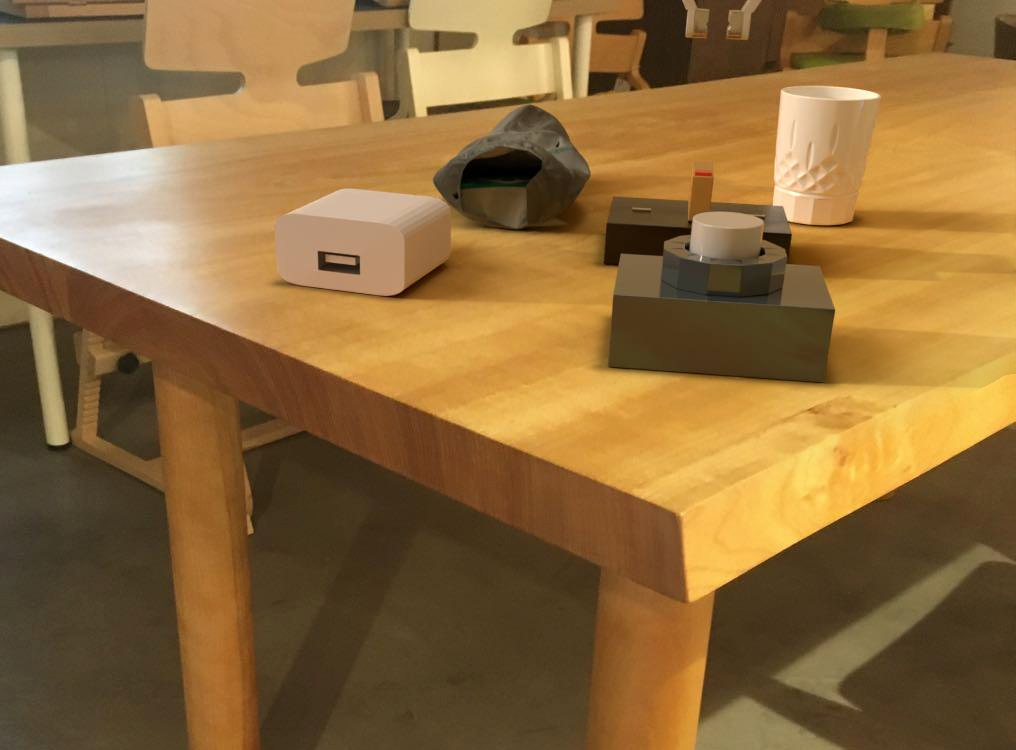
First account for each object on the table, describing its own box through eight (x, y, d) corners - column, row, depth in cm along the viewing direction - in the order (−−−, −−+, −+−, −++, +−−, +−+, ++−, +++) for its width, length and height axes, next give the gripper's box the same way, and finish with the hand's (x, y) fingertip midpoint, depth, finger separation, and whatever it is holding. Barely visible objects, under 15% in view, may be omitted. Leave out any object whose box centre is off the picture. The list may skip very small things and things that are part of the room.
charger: (478, 245, 94) (404, 298, 81) (366, 233, 96) (277, 282, 84) (480, 182, 92) (403, 225, 79) (365, 170, 94) (273, 211, 82)
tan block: (688, 204, 94) (692, 158, 93) (707, 205, 94) (713, 159, 93) (687, 221, 90) (692, 172, 88) (708, 222, 89) (714, 173, 88)
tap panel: (777, 243, 97) (783, 202, 95) (786, 277, 88) (793, 232, 87) (610, 233, 98) (613, 193, 97) (603, 265, 90) (606, 221, 88)
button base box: (809, 332, 77) (824, 236, 74) (823, 382, 69) (841, 276, 66) (615, 319, 79) (623, 224, 76) (607, 366, 71) (615, 262, 68)
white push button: (757, 248, 73) (762, 213, 72) (761, 266, 69) (766, 229, 68) (688, 244, 73) (692, 209, 72) (688, 262, 70) (692, 225, 69)
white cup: (822, 203, 110) (840, 84, 105) (879, 224, 103) (902, 98, 99) (746, 209, 107) (761, 87, 102) (801, 230, 101) (820, 101, 96)
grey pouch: (579, 237, 96) (611, 169, 118) (577, 142, 93) (610, 89, 114) (414, 239, 99) (475, 172, 120) (407, 146, 96) (470, 94, 117)
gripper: (900, -187, 81) (864, 39, 88) (588, -194, 84) (575, 27, 90) (916, -193, 76) (876, 49, 82) (581, -200, 78) (567, 36, 85)
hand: (716, 38), depth 86 cm, fingers closed
